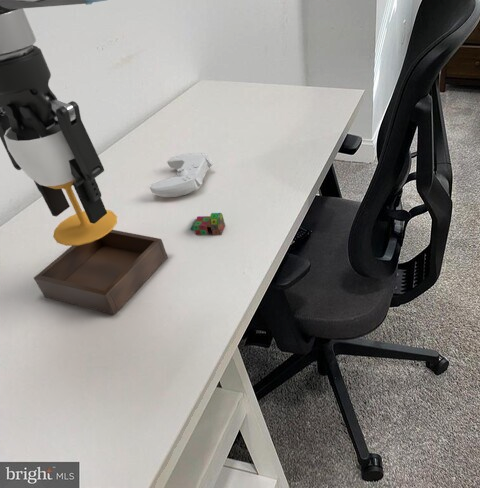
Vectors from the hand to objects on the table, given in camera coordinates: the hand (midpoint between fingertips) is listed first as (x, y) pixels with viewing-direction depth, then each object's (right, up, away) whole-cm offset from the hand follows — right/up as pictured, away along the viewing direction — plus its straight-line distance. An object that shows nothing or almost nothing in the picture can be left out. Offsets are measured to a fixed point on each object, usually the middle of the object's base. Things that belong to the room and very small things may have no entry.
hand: (79, 214), depth 70 cm
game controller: (+7, +8, +30) cm, 32 cm away
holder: (+1, -10, +8) cm, 12 cm away
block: (+15, -2, +16) cm, 22 cm away
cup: (0, -2, +2) cm, 3 cm away
